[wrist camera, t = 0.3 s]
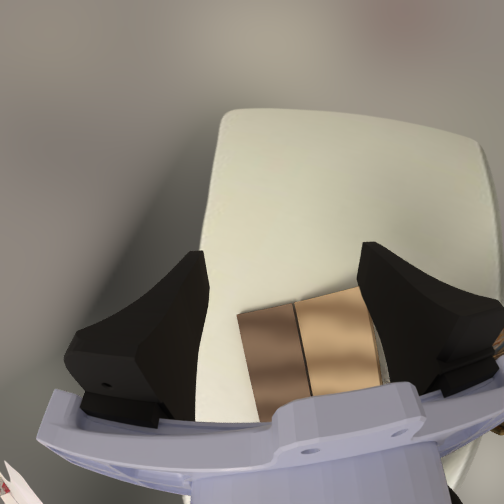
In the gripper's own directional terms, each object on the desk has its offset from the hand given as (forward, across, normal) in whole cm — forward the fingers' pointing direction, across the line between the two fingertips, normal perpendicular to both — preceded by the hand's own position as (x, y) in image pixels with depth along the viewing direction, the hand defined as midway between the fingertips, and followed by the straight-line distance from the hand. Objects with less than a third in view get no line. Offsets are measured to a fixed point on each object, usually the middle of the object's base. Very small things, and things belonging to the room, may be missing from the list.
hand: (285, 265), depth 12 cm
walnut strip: (+13, -1, +28) cm, 31 cm away
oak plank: (+11, -10, +25) cm, 29 cm away
